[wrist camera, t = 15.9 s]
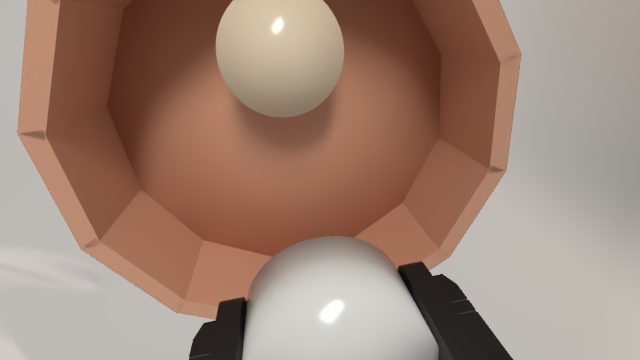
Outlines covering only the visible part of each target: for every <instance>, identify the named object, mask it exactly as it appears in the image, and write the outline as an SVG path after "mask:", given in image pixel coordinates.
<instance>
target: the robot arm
mask: <svg viewBox="0 0 640 360" xmlns="http://www.w3.org/2000/svg"><path fill="white" fill-rule="evenodd" d="M398 272H399V274H400V276H401V278H402V279H403V281H404V283H405V285H406V287H407V289H408V291H409V292H410V294H411V296H412V298H413V300H414V302H415V303H416V305H417V307H418V309H419V311H420V313H421V315H422V316H423V318H424V320H425V322H426V324H427V326H428V327H429V329H430V331H431V333H432V335H433V337H434V339H435V341H436V343H437V345H438V347H439V360H513V359H512V358H511V357H510V355H509V354H508V352H507V351H506V350H505V348H504V347H503V346H502V344H501V343H500V342H499V340H498V339H497V338H496V336H495V335H494V334H493V332H492V331H491V329H490V328H489V327H488V325H487V324H486V323H485V321H484V320H483V319H482V317H481V316H480V315H479V313H478V312H476V311H475V308H474V307H473V305H472V304H471V303H470V301H469V300H467V297H466V296H465V295H464V293H463V292H462V290H460V288H459V286H458V285H457V284H456V283H454V282H453V281H451V280H450V279H448V278H447V277H446V276H444V275H443V274H440V275H436V276H432V275H431V273H430V272H429V270H428V269H427V267H426V266H425V264H424V263H423V262H422V261H419V262H414V263H409V264H404V265H400V266H398ZM246 303H247V301H246V299H245V297H240V298H235V299H230V300H225V301H221V302H220V303H219V305H218V310H217V316H216V321H211V322H207V323H204V324H203V325H202V327H201V328H200V330H199V331H198V333H197V335H196V336H195V338H194V339H193V343H192V347H191V351H190V355H189V360H242V353H243V340H244V328H245V316H246Z"/></svg>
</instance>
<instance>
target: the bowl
mask: <svg viewBox="0 0 640 360" xmlns="http://www.w3.org/2000/svg"><path fill="white" fill-rule="evenodd" d="M232 1H233V0H28V2H27V3H28V4H27V16H26V28H25V41H24V54H23V67H22V80H21V92H20V105H19V118H18V131H17V133H18V136H19V137H20V139H21V141H22V143H23V145H24V146H25V148H26V150H27V152H28V154H29V155H30V157H31V159H32V161H33V163H34V165H35V167H36V168H37V170H38V172H39V174H40V175H41V177H42V179H43V181H44V183H45V185H46V187H47V188H48V190H49V192H50V194H51V196H52V197H53V199H54V201H55V203H56V205H57V207H58V208H59V210H60V212H61V214H62V215H63V217H64V219H65V221H66V223H67V225H68V227H69V228H70V230H71V232H72V234H73V236H74V237H75V239H76V241H77V243H78V245H79V247H80V248H81V249H82V250H83V251H84V252H86V253H88V254H89V255H90V256H92V257H93V258H95V259H96V260H98V261H99V262H101V263H103V264H104V265H105V266H107V267H108V268H110V269H111V270H113V271H115V272H116V273H117V274H119V275H120V276H122V277H123V278H125V279H126V280H128V281H129V282H131V283H133V284H134V285H135V286H137V287H138V288H140V289H141V290H143V291H144V292H146V293H147V294H149V295H150V296H152V297H153V298H155V299H156V300H158V301H159V302H161V303H162V304H164V305H165V306H167V307H169V308H170V309H171V310H173V311H174V312H176V313H182V314H188V315H193V316H199V317H205V318H210V319H216V316H217V310H218V305H219V303H220V302H221V301H225V300H230V299H235V298H240V297H245V299H246V301H247V296H248V291H249V288H250V285H251V283H252V281H253V279H254V277H255V276H256V274H257V273H258V271H259V270H260V269H261V268H262V267H263V266H264V264H265V263H266V262H267V261H269V260H270V259H271V258H272V257H273V256H275V255H276V254H278V253H279V252H281V251H282V250H284V249H286V248H288V247H290V246H292V245H293V244H296V243H299V242H301V241H304V240H308V239H312V238H317V237H324V236H345V237H352V238H356V239H360V240H363V241H366V242H368V243H370V244H372V245H374V246H376V247H378V248H379V249H380V250H382V251H383V252H384V253H385V254H386V255H387V256H388V257H389V258H390V259H391V260H392V262H393V263H394V265H395V266H396V268H397V270H398V266H400V265H404V264H409V263H414V262H419V261H422V262H423V263H424V264H425V266H426V267H427V269H428V270H431V269H432V268H434V267H435V266H437V265H438V264H440V263H441V262H443V261H444V260H446V259H447V258H449V257H450V256H451V254H452V253H453V251H454V250H455V248H456V247H457V245H458V243H459V242H460V241H461V239H462V237H463V236H464V234H465V233H466V231H467V230H468V228H469V227H470V225H471V224H472V222H473V220H474V219H475V218H476V216H477V215H478V213H479V212H480V210H481V209H482V207H483V205H484V204H485V202H486V201H487V199H488V198H489V196H490V195H491V193H492V192H493V190H494V188H495V187H496V186H497V184H498V182H499V181H500V180H501V178H502V176H503V175H504V173H505V172H506V168H507V161H508V153H509V146H510V137H511V130H512V123H513V122H512V121H513V114H514V107H515V99H516V92H517V84H518V76H519V69H520V61H521V52H520V50H519V47H518V45H517V43H516V40H515V38H514V35H513V33H512V31H511V28H510V26H509V23H508V21H507V19H506V16H505V14H504V11H503V9H502V7H501V4H500V2H499V0H323V1H324V2H325V3H326V4H327V5H328V7H329V8H330V10H331V11H332V12H333V14H334V16H335V18H336V20H337V22H338V24H339V27H340V29H341V33H342V37H343V43H344V61H343V67H342V71H341V74H340V77H339V80H338V82H337V84H336V86H335V88H334V89H333V91H332V92H331V93H330V95H329V96H328V97H327V98H326V99H325V100H324V101H323V102H322V103H321V104H320V105H318V106H317V107H316V108H314V109H313V110H311V111H309V112H307V113H304V114H301V115H298V116H293V117H285V118H282V117H272V116H267V115H264V114H261V113H258V112H256V111H254V110H252V109H250V108H249V107H247V106H246V105H244V104H243V103H242V102H241V101H239V100H238V99H237V97H236V96H235V95H234V94H233V93H232V92H231V90H230V89H229V88H228V86H227V85H226V83H225V81H224V79H223V77H222V75H221V72H220V69H219V66H218V63H217V57H216V35H217V31H218V26H219V24H220V21H221V18H222V16H223V14H224V12H225V11H226V9H227V8H228V6H229V5H230V3H231V2H232Z"/></svg>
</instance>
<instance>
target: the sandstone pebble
mask: <svg viewBox="0 0 640 360" xmlns="http://www.w3.org/2000/svg"><path fill="white" fill-rule="evenodd" d="M216 57H217V63H218V66H219V69H220V72H221V75H222V77H223V79H224V81H225V83H226V85H227V86H228V88H229V89H230V90H231V92H232V93H233V94H234V95H235V96H236V97H237V99H238V100H239V101H241V102H242V103H243V104H244V105H246V106H247V107H249V108H250V109H252V110H254V111H256V112H258V113H261V114H264V115H267V116H272V117H282V118H285V117H293V116H298V115H301V114H304V113H307V112H309V111H311V110H313V109H314V108H316V107H317V106H318V105H320V104H321V103H322V102H323V101H324V100H325V99H326V98H327V97H328V96H329V95H330V93H331V92H332V91H333V89H334V88H335V86H336V84H337V82H338V80H339V77H340V74H341V71H342V67H343V61H344V43H343V37H342V33H341V29H340V27H339V24H338V22H337V20H336V18H335V16H334V14H333V12H332V11H331V10H330V8H329V7H328V5H327V4H326V3H325V2H324V1H323V0H233V1H232V2H231V3H230V5H229V6H228V8H227V9H226V11H225V12H224V14H223V16H222V18H221V21H220V24H219V26H218V31H217V35H216Z"/></svg>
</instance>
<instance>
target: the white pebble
mask: <svg viewBox="0 0 640 360" xmlns="http://www.w3.org/2000/svg"><path fill="white" fill-rule="evenodd" d="M242 360H439V347H438V345H437V343H436V341H435V339H434V337H433V335H432V333H431V331H430V329H429V327H428V326H427V324H426V322H425V320H424V318H423V316H422V315H421V313H420V311H419V309H418V307H417V305H416V303H415V302H414V300H413V298H412V296H411V294H410V292H409V291H408V289H407V287H406V285H405V283H404V281H403V279H402V278H401V276H400V274H399V272H398V270H397V268H396V266H395V265H394V263H393V262H392V260H391V259H390V258H389V257H388V256H387V255H386V254H385V253H384V252H383V251H382V250H380V249H379V248H378V247H376V246H374V245H372V244H370V243H368V242H366V241H363V240H360V239H356V238H352V237H345V236H324V237H317V238H312V239H308V240H304V241H301V242H299V243H296V244H293V245H292V246H290V247H288V248H286V249H284V250H282V251H281V252H279V253H278V254H276V255H275V256H273V257H272V258H271V259H270V260H269V261H267V262H266V263H265V264H264V266H263V267H262V268H261V269H260V270H259V271H258V273H257V274H256V276H255V277H254V279H253V281H252V283H251V285H250V288H249V291H248V296H247V303H246V316H245V328H244V340H243V353H242Z"/></svg>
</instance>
